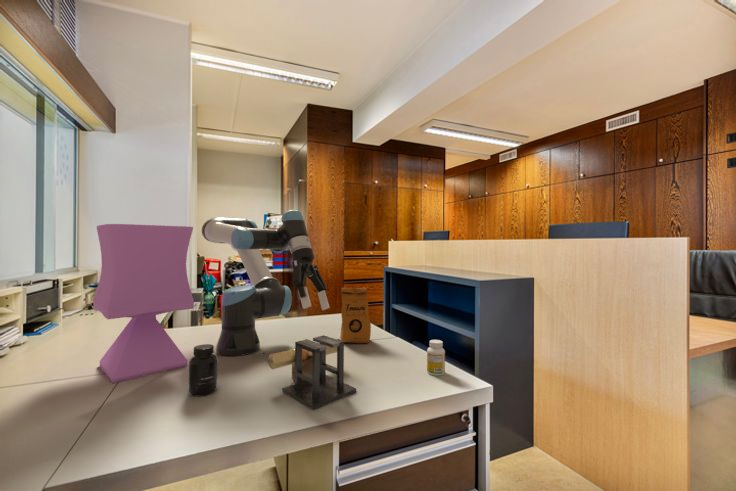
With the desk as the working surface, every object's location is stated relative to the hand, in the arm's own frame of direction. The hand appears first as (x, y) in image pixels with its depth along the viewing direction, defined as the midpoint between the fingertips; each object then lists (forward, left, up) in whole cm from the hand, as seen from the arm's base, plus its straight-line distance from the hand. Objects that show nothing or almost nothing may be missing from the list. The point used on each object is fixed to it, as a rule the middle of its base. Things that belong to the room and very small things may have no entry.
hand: (317, 308), depth 113 cm
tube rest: (+8, -9, -18) cm, 22 cm away
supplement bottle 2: (+33, +21, -18) cm, 43 cm away
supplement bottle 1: (-3, -35, -18) cm, 40 cm away
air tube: (+8, -9, -11) cm, 17 cm away
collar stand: (+19, -13, -18) cm, 30 cm away
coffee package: (-9, +26, -18) cm, 33 cm away
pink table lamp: (-36, -42, -18) cm, 58 cm away
